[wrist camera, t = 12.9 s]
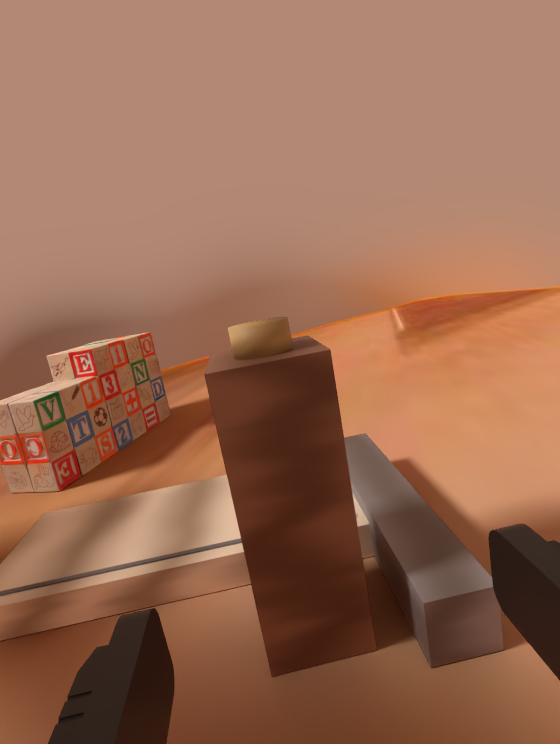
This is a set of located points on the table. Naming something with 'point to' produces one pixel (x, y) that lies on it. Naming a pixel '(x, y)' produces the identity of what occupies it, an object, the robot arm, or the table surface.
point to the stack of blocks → (81, 413)
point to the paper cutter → (242, 559)
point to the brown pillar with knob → (291, 494)
